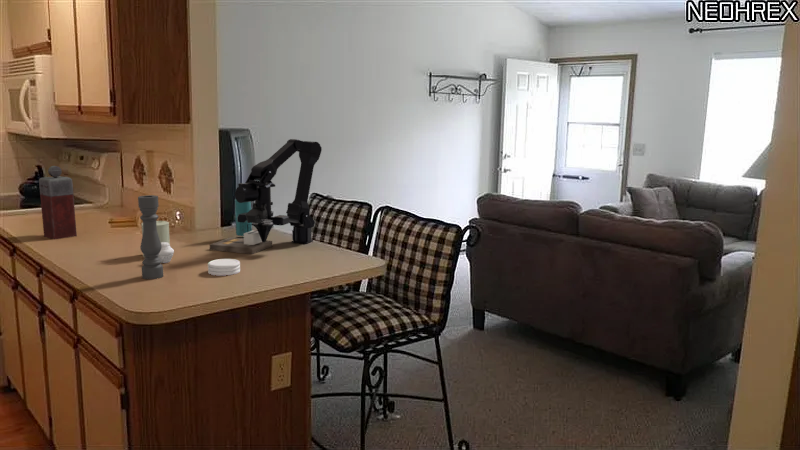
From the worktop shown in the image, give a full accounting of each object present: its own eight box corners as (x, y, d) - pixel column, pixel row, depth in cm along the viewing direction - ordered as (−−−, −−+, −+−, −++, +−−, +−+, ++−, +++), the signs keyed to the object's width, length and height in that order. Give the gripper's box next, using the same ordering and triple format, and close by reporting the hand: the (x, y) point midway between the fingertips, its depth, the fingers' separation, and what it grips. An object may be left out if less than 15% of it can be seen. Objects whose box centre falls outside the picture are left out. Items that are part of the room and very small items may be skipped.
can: (176, 253, 232) (174, 220, 230) (159, 259, 223) (157, 224, 221) (155, 251, 235) (153, 218, 233) (137, 256, 226) (135, 223, 224)
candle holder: (145, 274, 204) (140, 195, 199) (165, 273, 204) (161, 195, 200) (139, 279, 198) (134, 198, 193) (160, 279, 198) (155, 198, 194)
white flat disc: (210, 277, 201) (209, 266, 201) (206, 270, 210) (205, 259, 210) (242, 274, 205) (242, 264, 205) (237, 267, 214) (237, 257, 214)
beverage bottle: (248, 240, 256) (246, 189, 252) (232, 239, 257) (230, 189, 253) (255, 236, 262) (253, 187, 258) (239, 236, 263) (238, 187, 260)
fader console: (272, 246, 246) (272, 240, 245) (252, 253, 232) (252, 248, 232) (231, 242, 251) (231, 237, 251) (209, 249, 238) (209, 244, 238)
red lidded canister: (63, 232, 266) (57, 164, 261) (77, 235, 260) (71, 166, 254) (40, 235, 259) (34, 165, 254) (54, 239, 253) (47, 167, 248)
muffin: (156, 264, 216) (155, 244, 214) (154, 260, 221) (152, 240, 220) (176, 262, 218) (174, 242, 217) (173, 259, 224) (172, 239, 222)
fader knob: (262, 241, 242) (261, 231, 241) (253, 245, 236) (253, 234, 236) (252, 240, 243) (252, 230, 243) (243, 244, 238) (243, 233, 237)
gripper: (228, 201, 231) (229, 244, 234) (274, 204, 225) (275, 248, 228) (244, 197, 241) (246, 238, 244) (289, 200, 235) (290, 242, 238)
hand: (263, 242), depth 238 cm, fingers closed
